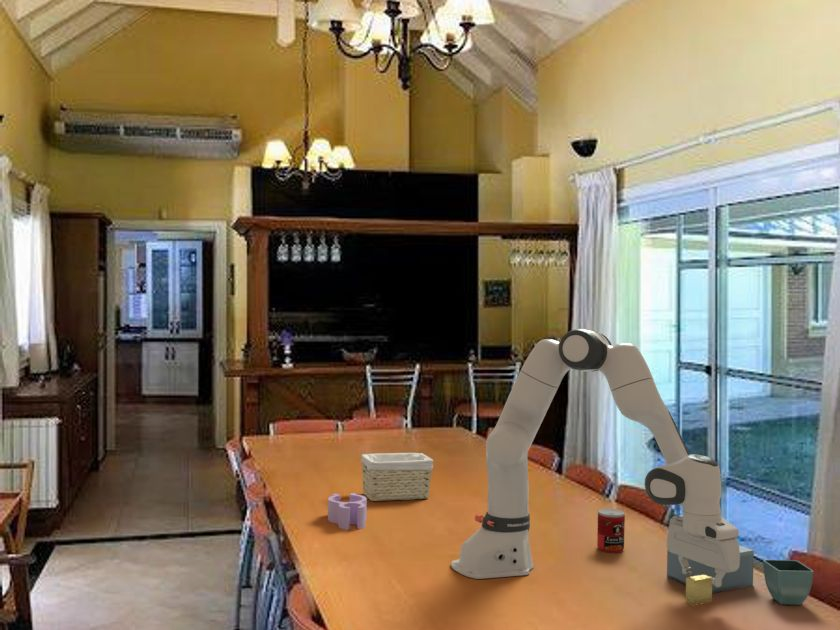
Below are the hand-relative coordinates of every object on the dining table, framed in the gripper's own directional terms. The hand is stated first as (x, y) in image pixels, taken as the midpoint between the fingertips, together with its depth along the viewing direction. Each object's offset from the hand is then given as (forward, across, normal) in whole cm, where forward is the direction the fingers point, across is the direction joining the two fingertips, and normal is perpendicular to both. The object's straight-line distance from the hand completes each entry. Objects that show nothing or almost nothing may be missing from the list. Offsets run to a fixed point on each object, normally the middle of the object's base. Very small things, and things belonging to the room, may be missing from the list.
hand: (701, 580), depth 205 cm
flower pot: (+6, +9, +19) cm, 22 cm away
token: (+5, 0, -1) cm, 5 cm away
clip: (+4, -103, -49) cm, 114 cm away
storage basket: (+4, -127, -20) cm, 129 cm away
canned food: (+5, -43, +9) cm, 44 cm away
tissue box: (+5, -10, +14) cm, 18 cm away
